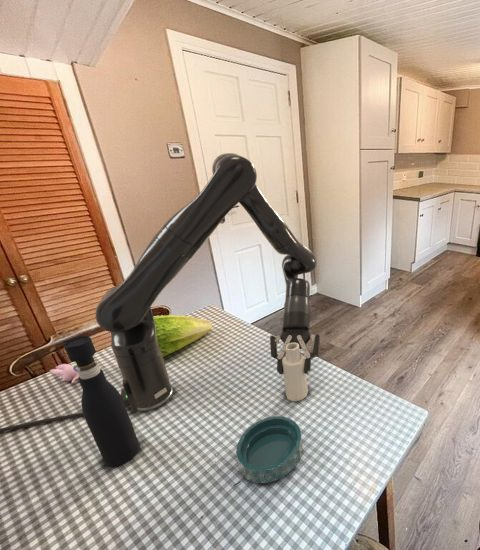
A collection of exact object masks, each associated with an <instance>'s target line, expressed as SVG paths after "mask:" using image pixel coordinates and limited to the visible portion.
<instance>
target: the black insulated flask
mask: <svg viewBox="0 0 480 550" xmlns="http://www.w3.org/2000/svg"><path fill="white" fill-rule="evenodd" d="M63 348H64V351H65V353H66V355H67V358H68V360H69V362H72V363H73V362H74V363H76V365H77V367H78V369H77V373H78V374H79V375H78V376H79V378H78V379H77V380H78V382H79V384H80V388H81V389H82V393H81V401H80V402H81V403H80V404H81V411H82V412H83V415H84V416H83V417H84V420H85V422H86V424H87V426H88V428H89V431H90V433H91V435H92V438H93V440H94V442H95V445H96V446H97V449H98V451H99V454H100V456H101V457H102V460H103V463H104V465H105V466H106V467H108V468H115V467H119V466H120V467H121V466H122V465H124V464H127V463H128V462H129V461H131V460H132V459H133V458H135V457H136V455H137V454H138V452H139V451H140V448H141V444H140V441H139V439H138V436H137V433H136V430H135V428H134V426H133V423H132V420H131V418H130V414H129V412H128V410H127V407H126V406H125V404H124V401H123V398H122V396H121V392H120V391H118V389H117V388H116V386H114V385H113V384H112V383H111V382H110V381H108V380H107V377H106V375H105V373H104V370H103V369H102V368H101V367H100V364H99V363H98V362H96V360H95V358H94V355H96V352H97V350H96V348H95V345H94V342H93V340H92V338H91V337H90V336H88V335H84V336H77V337H73V338H72V339H70V340H68V341H66V342H65V343H64V344H63ZM82 412H81V413H82Z"/></svg>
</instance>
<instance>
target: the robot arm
mask: <svg viewBox="0 0 480 550" xmlns="http://www.w3.org/2000/svg"><path fill="white" fill-rule="evenodd" d="M211 172H212V176H211V177H210V179H209V180H208V181H207V183H206V185H205V186H204V187H203V188H202V190H201V191H200V192H199V193H198V195H196V197H195V198H193V199H192V200H191V201H190V202H188V203H187V204H186V205H184V206H183V207H182V208H180V209H179V210H178V211H177V212H175V213H174V214H172V215H171V216H170V217H169V218H168V219H167V220H166V222H165V223H164V224H163V225H162V226H161V228H160V229H159V230H158V231H157V233H156V234H155V235H154V236H153V237H152V239H151V240H150V241H149V243H148V245H147V246H145V247H146V248H145V249H144V251H143V252H142V253H141V255H140V257H139V259H138V260H137V262H136V264H135V266H134V268H132V270H131V272H130V273H129V275H128V276H126V278H125V279H124V280H123V281H122V282H121V283H120V284H118V285H115V286H112V287H111V288H110V289H108V290H107V291H106V292H105V293H104V295H103V296H102V297H101V299H100V300H99V302H98V304H96V305H97V306H96V308H95V314H94V315H95V317H94V318H95V320H96V323H97V325H98V326H99V327H100V328H101V329H102V330H103V331H106V332H108V333H109V332H110V336H111V337H110V345H111V350H112V353H113V355H114V358H115V360H116V363H117V367H118V369H119V371H120V375H121V377H122V387H123V388H121V390H120V395H121V396H122V398H123V401H124V404H125V406H126V408H130V409H131V412H132V413H136V412H149V411H153V410H155V409H157V408H159V407H161V406H163V405H165V404H166V403H167V402H168V401H169V400H170V399H171V398H172V397H173V395H174V389H173V387H172V384H171V380H170V377H169V374H168V371H167V367H166V363H165V359H164V357H163V356H162V353H161V349H160V346H159V343H158V339H157V335H156V326H155V321H154V318H153V317H154V315H153V311H152V305H153V304H154V303H155V302H156V300H157V299H158V297H159V295H160V294H161V293H162V291H164V289H166V287H167V286H168V285H169V284H170V283H171V282H172V281H173V280H174V279H175V278H176V277H177V276H178V275H179V274H180V273H181V272H182V270H183V269H184V268H185V267H186V266H187V265H188V264H189V263H190V261H191V260H193V258H194V257H195V256H196V254H198V252H199V251H200V250H201V249H202V248H203V246H204V245H205V244H206V242H207V241H208V240H209V238H210V237H211V236H212V234H213V233H214V232H215V230H216V229H217V228H218V226H219V225H220V224H221V222H222V221H223V219H224V218H225V217H226V215H228V214H229V213H230V211H232V209H234V208H235V207H236V206H237V205H238V204H240V206H241V207H242V208H243V209H244V210H245V211H246V213H247V214H248V215H249V216H250V218H251V220H252V221H253V222H254V223H255V225H256V226H257V228H258V229H259V231H260V232H261V234H262V235H263V236H264V238H265V239H266V240H267V241H268V243H269V245H270V246H271V248H273V250H274V251H275V252H276V253H277V254H279V255H284V257H283V259H282V262H281V268H282V273H283V277H284V282H285V298H284V299H285V300H284V304H283V315H282V329H281V333H280V334H279V335H270V336H269V342H270V343H269V345H270V357H271V358H273V359H276V360H277V361H276V362H277V363H276V372H277V373H278V374H279V375H282V376H284V373H283V365H282V358H283V357H284V356H285V355H286V345H287V344H289V343H298V344H299V350H302V352H303V354H304V356H305V374H306V375H308V374H309V372H311V369H312V359H314V358H317V357H318V356H319V349H320V344H321V343H320V342H321V336H320V334H319V333H316V334H311V332H310V324H311V323H310V321H311V303H310V302H311V301H310V298H311V297H310V296H311V295H310V294H311V293H310V292H311V285H310V282H309V281H308V280H307V279H305V278H300V277H299V276H300V275H304V274H308V273H311V272H313V271H314V270H316V268H317V263H318V262H317V258H316V255H315V254H314V252H313V251H312V250H311V249H310V248H309V247H307V245H305V244H304V243H303V242H301V241H300V240H299V239H298V238H297V237H296V236H295V235H294V233H293V232H292V231H291V229H290V227H289V226H288V224H287V223H286V221H284V219H283V218H282V217H281V216H280V215H279V213H278V212H277V211H276V209H274V207H273V206H272V205H271V204H270V203H269V202H268V200H267V199H266V197H264V195H263V193H262V192H261V190H260V189H259V187H258V185H257V179H258V175H257V174H258V173H257V169H256V167H255V165H254V164H253V163H252V162H251V160H249V159H248V158H247V157H244V156H242V155H240V154H238V153H234V152H224V153H221V154H219V155H218V156H216V157H215V159H214V160H213V162H212V166H211ZM310 340H311V341H312V343H313V349H312V352H310V350H309V349H308V346H307V344H308V343H309V341H310ZM280 341H282V343H283V344H282V347H281V349H280V350H279V353H278V344H279V342H280ZM78 417H84V415H83V412H76V413H70V414H66V415H60V416H55V417H50V418H45V419H40V420H34V421H29V422H25V423H20V424H15V425H10V426H6V427H1V428H0V433H3V432H9V431H12V430H17V429H22V428H26V427H32V426H36V425H37V426H38V425H40V424H46V423H52V422H57V421H58V422H59V421H62V420H68V419H72V418H78Z"/></svg>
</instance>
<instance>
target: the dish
mask: <svg viewBox="0 0 480 550" xmlns="http://www.w3.org/2000/svg"><path fill="white" fill-rule="evenodd" d="M302 439H303V438H302V430H301V428H300V426H299V424H298V423H297V422H295V421H294V420H293V419H292V418H289V417H286V416H279V415H278V416H277V415H273V416H269V417H264V418H262V419H260V420H257V421H256V422H254V423H253V424H251V425H250V426H249V427H248V428H247V429H246V430H245V431H244V432H243V433H242V435H240V438H239V440H238V442H237V444H236V450H235V451H236V452H235V455H236V458H237V463H238V467H239V470H240V474H241V475H242V476H243V477H244V478H245V479H246V480H249V481H250V482H253V483H255V484H269V483H272V482H276V481H278V480H280V479H283V478H284V477H286V476H287V475H288V474H290V472H291V471H293V469H295V467H296V466H297V464H298V463H299V461H300V459H301V457H302V453H303V441H302Z"/></svg>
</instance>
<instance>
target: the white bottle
mask: <svg viewBox="0 0 480 550" xmlns="http://www.w3.org/2000/svg"><path fill="white" fill-rule="evenodd" d="M300 350H301V349H299V344H298V343H289V344H287V345H286V355H285V356H284V357H283V358H282V365H283V380H284V389H285V397H286V398H287V399H288V400H289V401H291V402H299V401H302V400H304V399H305V398H306V397H307V396H308V393H309V389H308V378H307V377H308V374H305V359H306V356H305V354H304V353H302V352H300Z"/></svg>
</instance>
